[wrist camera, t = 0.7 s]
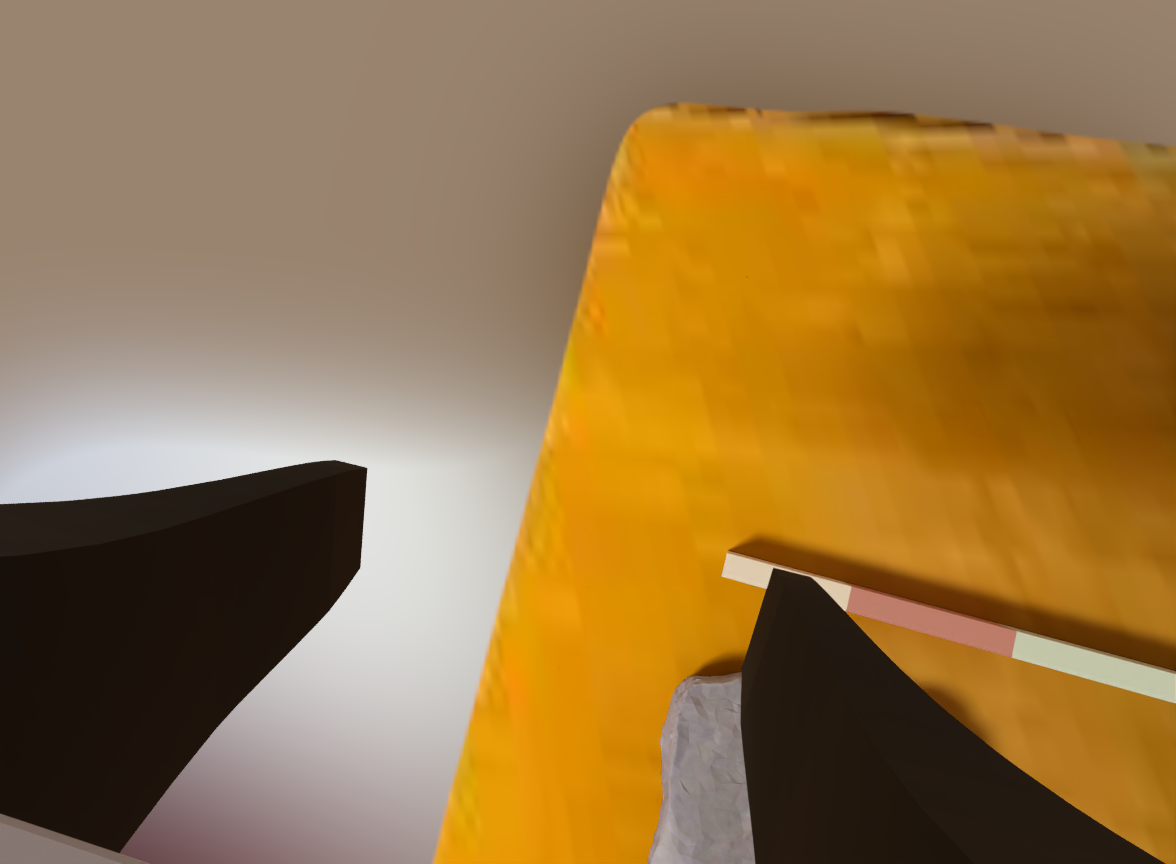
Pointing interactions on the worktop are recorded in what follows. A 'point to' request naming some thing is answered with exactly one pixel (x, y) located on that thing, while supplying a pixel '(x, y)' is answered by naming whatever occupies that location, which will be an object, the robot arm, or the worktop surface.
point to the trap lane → (974, 631)
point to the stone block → (704, 777)
